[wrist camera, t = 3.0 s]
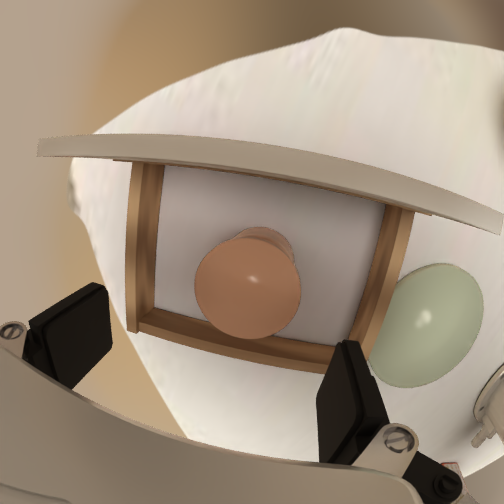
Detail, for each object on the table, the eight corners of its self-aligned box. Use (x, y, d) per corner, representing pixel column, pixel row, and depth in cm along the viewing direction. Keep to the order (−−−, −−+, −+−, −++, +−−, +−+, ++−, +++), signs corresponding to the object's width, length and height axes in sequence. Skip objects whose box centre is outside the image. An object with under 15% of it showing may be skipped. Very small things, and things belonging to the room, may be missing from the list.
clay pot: (289, 303, 22) (287, 347, 16) (217, 288, 23) (190, 326, 17) (305, 230, 21) (311, 251, 15) (227, 216, 21) (200, 230, 15)
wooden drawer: (351, 357, 23) (377, 474, 10) (145, 313, 25) (60, 394, 12) (399, 194, 19) (511, 215, 6) (156, 152, 21) (33, 137, 8)
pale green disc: (446, 382, 22) (449, 387, 21) (347, 378, 24) (348, 384, 23) (494, 275, 19) (499, 278, 18) (392, 250, 20) (396, 253, 19)
